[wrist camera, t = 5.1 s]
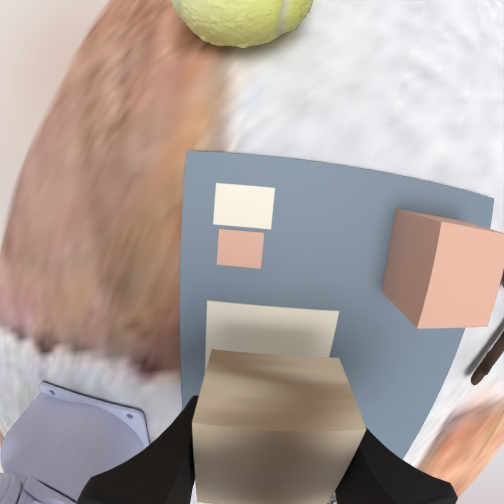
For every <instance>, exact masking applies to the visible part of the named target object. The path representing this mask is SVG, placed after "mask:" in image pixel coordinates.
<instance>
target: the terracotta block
mask: <svg viewBox="0 0 504 504" xmlns="http://www.w3.org/2000/svg"><path fill="white" fill-rule="evenodd" d="M503 270H504V233H501V232H498V231H495V230H492V229H488V228H485V227H482V226H479V225H475V224H472V223H468V222H465V221H461V220H457V219H452V218H446V217H441V216H436V215H430V214H425V213H419V212H413V211H407V210H401V209H396V211H395V218H394V225H393V232H392V238H391V244H390V250H389V255H388V261H387V266H386V271H385V276H384V281H383V286H382V290H381V292H382V293H383V294H384V295H385V296H386V297H387V298H388V299H389V300H390V301H391V302H392V303H393V304H394V305H395V306H396V307H397V308H398V309H399V310H400V311H401V312H402V313H403V314H404V315H405V316H406V317H407V318H408V319H409V321H410V322H411V323H412V324H413V325H414V326H415V327H416V328H417V329H424V328H465V327H487V325H488V322H489V319H490V316H491V313H492V310H493V307H494V303H495V300H496V297H497V293H498V290H499V286H500V282H501V278H502V274H503Z"/></svg>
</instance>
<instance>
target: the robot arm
mask: <svg viewBox="0 0 504 504" xmlns="http://www.w3.org/2000/svg"><path fill="white" fill-rule="evenodd" d="M39 388H40V391H41V394H40V395H39V396H38V397H37V398H36V399H35V401H34V402H33V403H32V404H31V405H30V406H29V408H28V409H27V410H26V411H25V412H24V413H23V415H22V416H21V417H20V418H19V419H18V421H17V422H16V423H15V424H14V425H13V427H12V428H11V429H10V430H9V431H8V433H7V434H6V436H5V438H4V441H3V444H2V447H1V455H0V456H1V465H2V468H3V471H4V473H0V504H190V500H191V494H192V489H193V485H194V481H195V467H194V452H193V434H192V421H193V417H194V413H195V409H196V406H197V402H198V398H199V396H197V395H194V396H192V397H191V399H190V400H189V402H188V403H187V405H186V406H185V408H184V409H183V410H182V412H181V413H180V414H179V415H178V417H177V418H176V419H175V420H174V421H173V423H172V424H171V425H170V426H169V427H168V428H167V429H166V430H165V431H164V432H163V433H162V434H161V435H160V436H159V437H158V438H157V439H156V440H155V441H154V442H152V443H151V444H149V439H148V434H147V429H146V424H145V418H144V415H143V413H142V412H140V411H138V410H135V409H130V408H126V407H122V406H118V405H114V404H111V403H107V402H103V401H100V400H96V399H93V398H89V397H86V396H83V395H79V394H76V393H73V392H70V391H67V390H64V389H61V388H58V387H56V386H53V385H50V384H47V383H45V382H41V383H40V384H39ZM130 414H131V415H130ZM365 427H366V426H365ZM335 493H336V501H337V504H455V503H456V501H457V499H458V497H457V495H456V493H455V491H454V489H453V487H452V485H451V483H449V482H446V481H443V480H440V479H438V478H435V477H432V476H430V475H428V474H426V473H424V472H422V471H420V470H418V469H416V468H415V467H413V466H411V465H410V464H408V463H407V462H405V461H404V460H402V459H401V458H399V457H398V456H397V455H395V454H394V453H393V452H391V451H390V450H389V449H388V448H387V447H386V446H385V445H383V444H382V443H381V442H380V441H379V440H378V439H377V438H376V437H375V436H374V435H373V434H372V433H371V432H370V430H369V429H368V428H367V427H366V431H365V433H364V436H363V438H362V440H361V442H360V444H359V446H358V448H357V450H356V452H355V454H354V456H353V458H352V460H351V462H350V464H349V466H348V468H347V470H346V472H345V474H344V476H343V477H342V479H341V481H340V483H339V485H338V486H337V488H336V490H335Z"/></svg>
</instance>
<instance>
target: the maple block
mask: <svg viewBox="0 0 504 504" xmlns="http://www.w3.org/2000/svg"><path fill="white" fill-rule="evenodd" d="M365 431H366V427H365V424H364V421H363V418H362V416H361V413H360V410H359V408H358V405H357V402H356V400H355V397H354V395H353V392H352V389H351V387H350V384H349V382H348V379H347V377H346V374H345V371H344V369H343V366H342V364H341V361H340V359H339V358H331V357H303V356H284V355H269V354H256V353H245V352H234V351H225V350H216V349H212V350H211V354H210V357H209V361H208V365H207V368H206V372H205V376H204V379H203V383H202V387H201V391H200V394H199V398H198V402H197V406H196V409H195V413H194V417H193V421H192V434H193V452H194V467H195V481H196V493H197V502H203V503H210V504H327V503H328V502H329V500H330V498H331V497H332V495H333V493H334V492H335V490H336V488H337V486H338V485H339V483H340V481H341V479H342V477H343V476H344V474H345V472H346V470H347V468H348V466H349V464H350V462H351V460H352V458H353V456H354V454H355V452H356V450H357V448H358V446H359V444H360V442H361V440H362V438H363V436H364V433H365Z"/></svg>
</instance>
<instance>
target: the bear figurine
mask: <svg viewBox="0 0 504 504" xmlns="http://www.w3.org/2000/svg"><path fill="white" fill-rule="evenodd" d="M503 287H504V277H503ZM503 351H504V332H503V333H502V335H501V336H500V337H499V339H498V340H497V342H496V343H495V345H494V346H493V347H492V349H491V350H490V351H489V352H488V353H487V355H486V356H485V358H484V359H483V361H482V362H481V363H480V365H479V366H478V367H477V369H476V370H475V372H474V373H473V375H472V377H471V383H472V384H473V385H477V384H478V383H479V382H480V381H481V380H482V379H483V377H484V376H485V375H487V374H488V373H489V371H490V369H491V368H492V366H493V365H494V364H495V362H496V361H497V360H498V358H499V357H500V355H501V354H502V353H503Z"/></svg>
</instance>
